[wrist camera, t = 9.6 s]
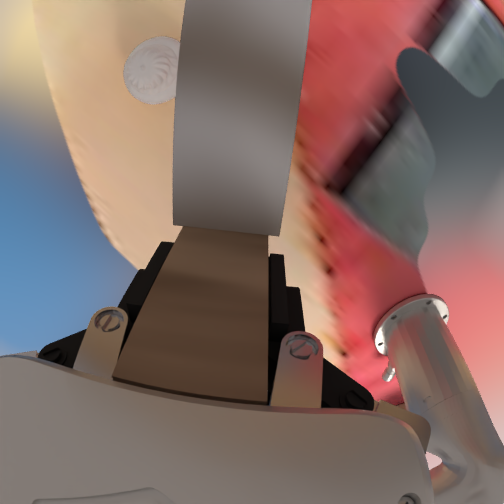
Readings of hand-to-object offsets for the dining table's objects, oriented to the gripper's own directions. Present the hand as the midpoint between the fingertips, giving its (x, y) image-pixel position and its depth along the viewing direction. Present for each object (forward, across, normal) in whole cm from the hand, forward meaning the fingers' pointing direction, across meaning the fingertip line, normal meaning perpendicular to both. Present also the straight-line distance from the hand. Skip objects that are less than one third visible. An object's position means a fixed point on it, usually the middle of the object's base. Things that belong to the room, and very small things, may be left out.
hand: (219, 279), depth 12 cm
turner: (+1, 0, -6) cm, 6 cm away
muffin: (+18, +8, -9) cm, 22 cm away
